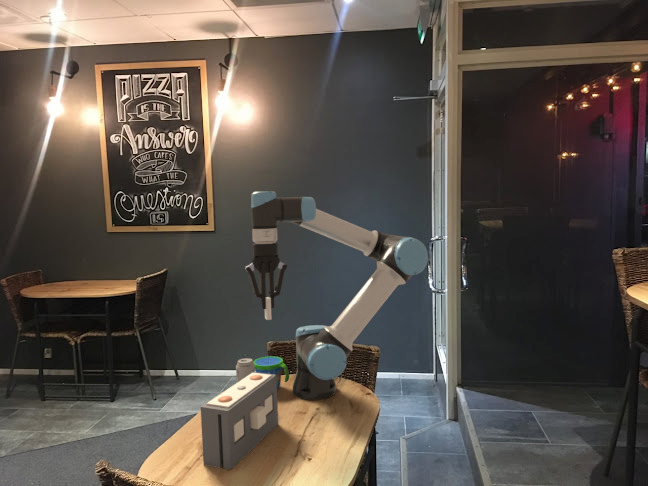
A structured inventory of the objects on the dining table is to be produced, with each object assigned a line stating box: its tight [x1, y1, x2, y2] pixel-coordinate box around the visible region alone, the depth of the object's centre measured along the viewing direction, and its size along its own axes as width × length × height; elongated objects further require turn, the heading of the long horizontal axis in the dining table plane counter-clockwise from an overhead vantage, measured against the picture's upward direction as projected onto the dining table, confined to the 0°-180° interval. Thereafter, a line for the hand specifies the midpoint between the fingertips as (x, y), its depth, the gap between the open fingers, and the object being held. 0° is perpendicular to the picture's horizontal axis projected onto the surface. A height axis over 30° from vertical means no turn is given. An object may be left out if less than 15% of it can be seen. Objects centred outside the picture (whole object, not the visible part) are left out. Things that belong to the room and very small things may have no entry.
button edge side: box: [234, 418, 244, 442], centre depth 124 cm, size 3×4×4 cm, turn 158°
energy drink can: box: [235, 357, 255, 383], centre depth 158 cm, size 6×6×15 cm
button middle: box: [250, 406, 266, 429], centre depth 131 cm, size 3×4×4 cm, turn 158°
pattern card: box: [206, 373, 272, 408], centre depth 132 cm, size 6×23×1 cm, turn 158°
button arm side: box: [264, 395, 273, 415], centre depth 139 cm, size 3×4×4 cm, turn 158°
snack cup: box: [253, 355, 290, 390], centre depth 171 cm, size 16×10×10 cm
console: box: [200, 372, 279, 471], centre depth 133 cm, size 8×26×15 cm, turn 158°
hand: (268, 318), depth 148 cm, fingers closed
